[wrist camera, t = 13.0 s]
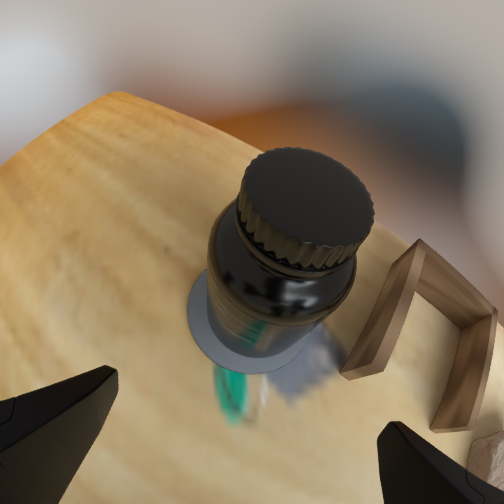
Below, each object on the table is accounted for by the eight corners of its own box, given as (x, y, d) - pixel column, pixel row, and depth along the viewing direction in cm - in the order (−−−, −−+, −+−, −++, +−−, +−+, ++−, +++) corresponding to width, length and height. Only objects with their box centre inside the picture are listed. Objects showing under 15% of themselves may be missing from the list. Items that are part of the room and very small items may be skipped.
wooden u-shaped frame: (435, 433, 15) (472, 430, 12) (339, 373, 18) (371, 363, 14) (468, 327, 21) (497, 310, 18) (392, 263, 24) (419, 237, 20)
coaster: (208, 389, 16) (208, 389, 16) (176, 271, 20) (175, 267, 20) (328, 350, 19) (331, 348, 18) (285, 247, 23) (286, 243, 22)
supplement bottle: (319, 334, 19) (430, 243, 9) (231, 376, 16) (273, 327, 6) (275, 256, 22) (330, 125, 11) (191, 285, 19) (182, 145, 9)
